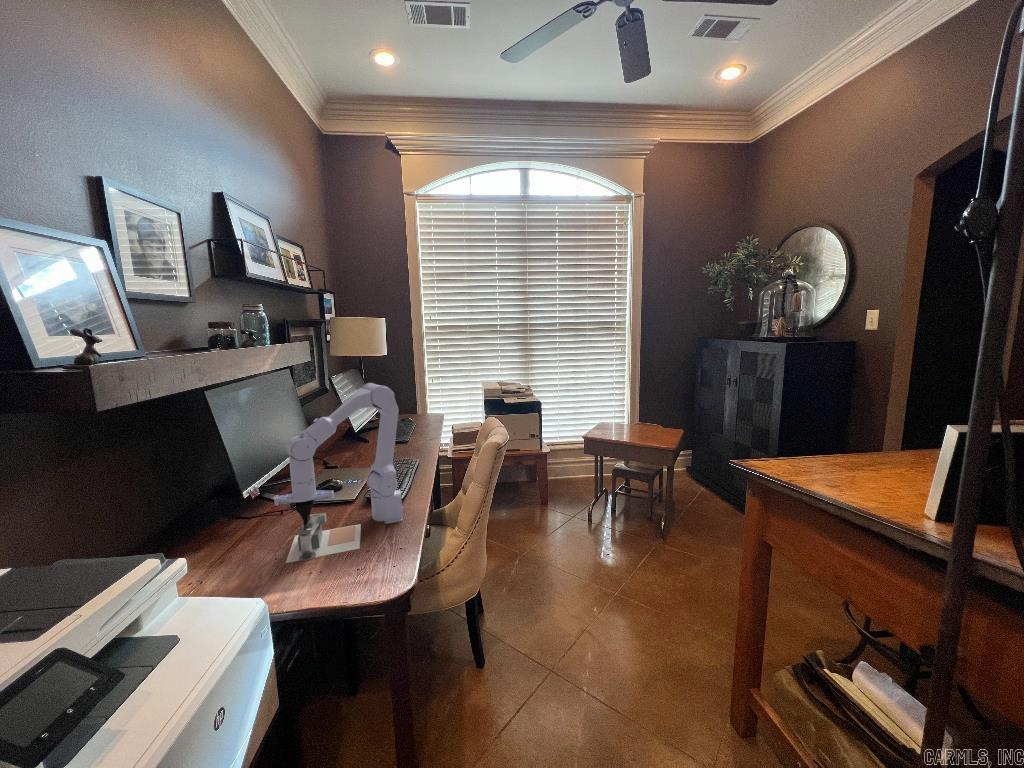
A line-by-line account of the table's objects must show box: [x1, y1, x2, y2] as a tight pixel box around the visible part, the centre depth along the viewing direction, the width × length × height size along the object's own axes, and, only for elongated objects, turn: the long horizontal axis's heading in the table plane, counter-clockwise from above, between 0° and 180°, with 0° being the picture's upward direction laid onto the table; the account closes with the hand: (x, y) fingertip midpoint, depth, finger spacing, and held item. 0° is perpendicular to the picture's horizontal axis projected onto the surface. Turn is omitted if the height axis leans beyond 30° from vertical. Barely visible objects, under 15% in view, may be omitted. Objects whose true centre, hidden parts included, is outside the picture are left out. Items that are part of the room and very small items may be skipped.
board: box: [285, 523, 362, 564], centre depth 108 cm, size 18×15×1 cm
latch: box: [297, 512, 327, 558], centre depth 106 cm, size 5×12×8 cm, turn 11°
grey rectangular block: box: [298, 524, 323, 551], centre depth 108 cm, size 5×7×4 cm
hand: (307, 525), depth 107 cm, fingers closed, pressing on latch
